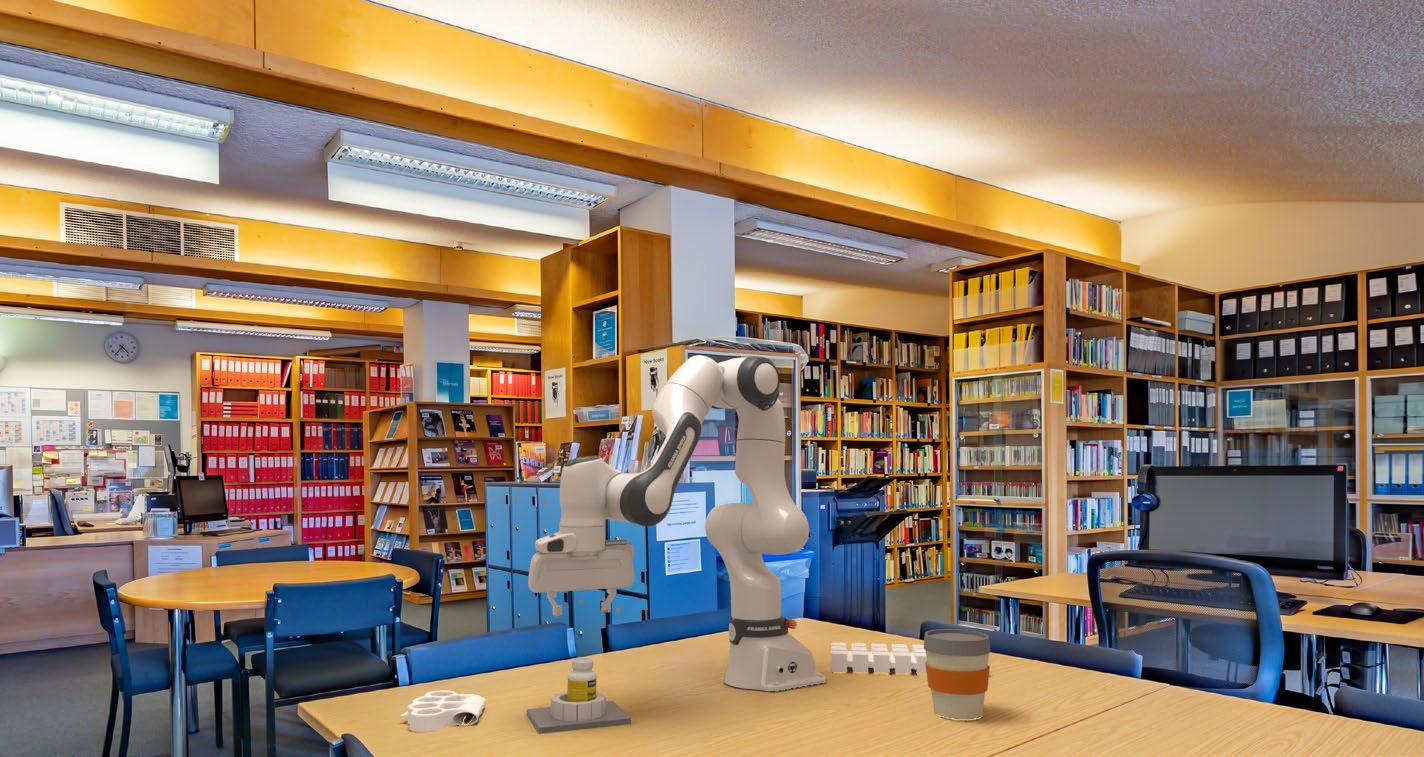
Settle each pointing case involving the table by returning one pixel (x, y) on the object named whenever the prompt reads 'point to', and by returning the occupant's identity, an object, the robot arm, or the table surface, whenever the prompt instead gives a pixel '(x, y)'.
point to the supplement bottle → (581, 681)
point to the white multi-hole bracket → (442, 710)
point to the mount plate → (577, 714)
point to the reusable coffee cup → (957, 671)
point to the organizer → (878, 658)
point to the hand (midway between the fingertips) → (581, 613)
